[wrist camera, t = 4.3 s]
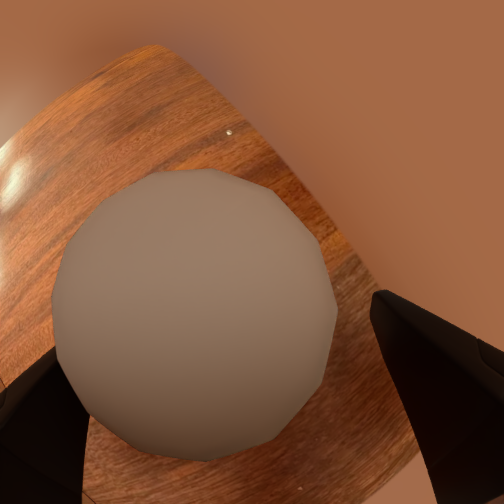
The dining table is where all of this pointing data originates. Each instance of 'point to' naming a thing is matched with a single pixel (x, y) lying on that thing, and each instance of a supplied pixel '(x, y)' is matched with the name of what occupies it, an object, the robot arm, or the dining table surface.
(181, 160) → the dining table surface
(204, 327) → the salt shaker
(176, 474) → the dining table surface
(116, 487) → the dining table surface
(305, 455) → the dining table surface
